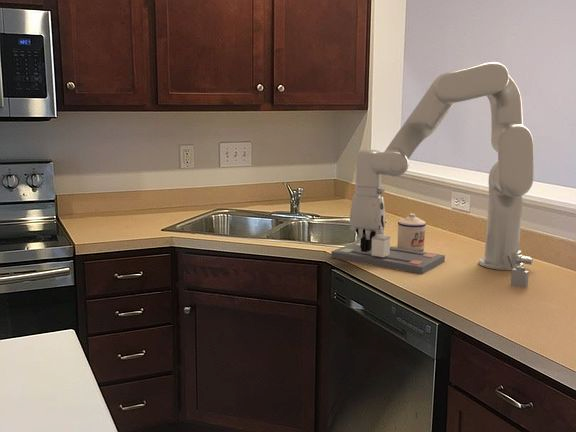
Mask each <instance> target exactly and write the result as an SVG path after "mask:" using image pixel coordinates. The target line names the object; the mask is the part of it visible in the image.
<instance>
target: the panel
mask: <svg viewBox="0 0 576 432" xmlns="http://www.w3.org/2000/svg"><path fill="white" fill-rule="evenodd" d="M360 242H361V241H355V242H352V243H350V244H348V245H345V246H343V247H340V248H337V249H334V250H331V252H330V253H331V254H330V255H331V256H330V257H331V258H332V259H337V260H340V261H341V260H343V261H348V262H353V263H359V264H365V265H371V266H376V267H381V268H387V269H393V270H397V269H398V271H402V270H404V272H408V271H409V273H413V272H414V273H415V274H419V275H423V274H425V273H427V272H428V271H431V270H432V269H434V268H436V267H438V266H440V265H441V264H443V263H445V261H446V255H445V254H440V253H439V254H438V253H434V252H433V253H431V252H426V251H415V250H408V249H402V248H398V247H397V246H396V247H394V246H390V254H389V255H388V256H385V257H378V256H373V255H371V253H372V247H371V250H370V251H368V252H361V248H360Z"/></svg>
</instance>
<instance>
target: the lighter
mask: <svg viewBox="0 0 576 432" xmlns="http://www.w3.org/2000/svg"><path fill="white" fill-rule="evenodd" d="M502 259H503V261H504V264H505V267H506V269H507V270H506V271H507V272H508V271H510V272H511V275H510V284H509V285H510V286H513V287H518V288H521V289H522V288H523V289H527V288H528V284H529V275H530V273H529V272H530V271H528V270H526V268H525V266H523V267H520V266H517V267H516V269H514V267H513V264H512V261H511V259H510V256H509V254H507V255H504V256H502Z"/></svg>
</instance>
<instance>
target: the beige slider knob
mask: <svg viewBox="0 0 576 432" xmlns="http://www.w3.org/2000/svg"><path fill="white" fill-rule="evenodd" d="M390 247H391V236H388V235H384V236H383V235H376V236H374V237H372V253H371V255H373V256H378V257H385V256H388V255H389V254H390Z"/></svg>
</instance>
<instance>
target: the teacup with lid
mask: <svg viewBox="0 0 576 432" xmlns="http://www.w3.org/2000/svg"><path fill="white" fill-rule="evenodd" d="M426 223H427V222H426V220H423V219H421V218H419V217H417V216H416V213H409V214H408V216H406V217H404V218H402V219H398V221H397V225H398V226H397V227H398V228H397V244H396V245H397V246H396V248H402V249H408V250H415V251H421V252H423V250H424V249H425V237H426V236H425V235H426V225H427V224H426Z"/></svg>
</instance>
